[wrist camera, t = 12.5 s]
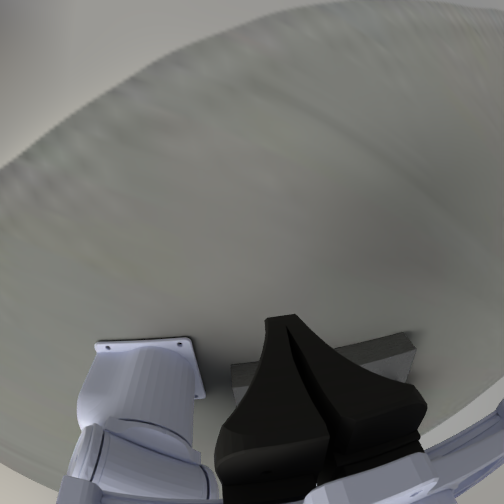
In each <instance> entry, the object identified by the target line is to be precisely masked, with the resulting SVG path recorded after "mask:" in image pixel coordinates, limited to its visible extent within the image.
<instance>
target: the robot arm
mask: <svg viewBox="0 0 504 504" xmlns="http://www.w3.org/2000/svg"><path fill="white" fill-rule="evenodd" d="M265 331H266V333H265V341H264V346H263V351H262V354H261V358H260V361H259V364H258V367H257V370H256V372H255V375H254V377H253V379H252V381H251V383H250V386H249V388H248V389H247V391H246V393H245V395H244V397H243V398H242V400H241V401H240V403H239V404H238V406H237V407H236V409H235V410H234V412H233V413H232V414H231V416H230V417H229V418H228V419H227V420H226V422H225V423H224V424H223V425H222V427H221V430H220V433H219V436H218V439H217V443H216V447H215V453H214V464H215V472H216V474H217V476H218V478H219V480H220V482H221V484H222V492H223V499H219V489H218V484H217V481H216V478H215V476H214V474H213V472H212V470H211V469H210V468H209V467H207V466H205V465H202V464H201V452H199V451H196V450H194V449H192V440H193V414H194V399H203V398H205V397H206V392H205V389H204V385H203V382H202V379H201V375H200V371H199V368H198V364H197V361H196V357H195V353H194V349H193V346H192V342H191V340H190V339H189V338H187V337H183V338H170V339H155V340H136V341H110V342H96V343H95V346H94V347H95V350H96V352H97V354H96V356H95V359H94V361H93V363H92V365H91V367H90V370H89V372H88V374H87V376H86V379H85V381H84V383H83V386H82V388H81V390H80V393H79V396H78V401H77V418H78V423H79V426H80V428H81V431H82V433H81V435H80V437H79V439H78V441H77V444H76V446H75V449H74V451H73V454H72V457H71V460H70V463H69V467H68V471H67V475H63V478H62V482H61V486H60V490H59V494H58V498H57V502H56V504H457V502H456V500H455V498H456V497H458V496H460V495H461V494H463V493H464V492H465V491H467V490H469V489H470V488H471V487H473V486H474V485H476V484H477V483H479V482H480V481H481V480H483V479H484V478H485V477H487V476H488V475H489V474H491V473H492V472H493V471H495V470H496V469H497V468H498V467H500V466H501V465H502V464H503V463H504V399H503V400H502V401H501V402H500V403H499V405H498V407H497V408H496V410H495V411H494V412H492V413H491V414H489V415H488V416H486V417H485V418H483V419H481V420H480V421H478V422H477V423H475V424H473V425H472V426H470V427H468V428H466V429H465V430H463V431H461V432H459V433H458V434H456V435H454V436H452V437H450V438H448V439H446V440H444V441H443V442H441V443H439V444H437V445H434V446H432V447H430V448H428V449H426V450H423V448H422V446H421V444H420V442H419V441H418V440H419V439H420V434H419V432H418V430H417V429H418V427H419V425H420V424H421V422H422V420H423V418H424V416H425V414H426V411H427V403H426V402H425V400H424V399H423V397H422V396H421V394H420V393H419V391H418V390H417V389H416V388H415V386H414V385H411V384H407V383H403V382H399V381H396V380H392V379H389V378H386V377H384V376H381V375H378V374H376V373H374V372H371V371H369V370H367V369H365V368H363V367H361V366H359V365H357V364H355V363H353V362H352V361H350V360H348V359H347V358H345V357H344V356H342V355H341V354H339V353H338V352H336V351H335V350H334V349H333V348H331V347H330V346H329V345H327V344H326V343H325V342H324V341H323V340H322V339H320V338H319V337H318V336H317V335H316V334H315V333H314V332H313V331H312V330H311V329H310V328H309V327H308V326H307V325H306V324H305V323H304V322H303V321H302V320H301V319H300V318H299V317H298V316H297V315H296V314H291V315H284V316H277V317H270V318H267V319H266V320H265ZM179 342H180V343H182V344H179ZM108 346H109V347H110V348H109V347H108ZM316 483H317V486H316Z"/></svg>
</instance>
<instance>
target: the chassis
mask: <svg viewBox="0 0 504 504" xmlns="http://www.w3.org/2000/svg"><path fill="white" fill-rule="evenodd" d="M334 350H335V351H336V352H338V353H339V354H341V355H342V356H344V357H345V358H347V359H348V360H350V361H352V362H353V363H355V364H357V365H359V366H361V367H363V368H365V369H367V370H369V371H371V372H374V373H376V374H378V375H381V376H384V377H386V378H389V379H392V380H396V381H399V382H403V383H405V382H406V379H407V377H408V374H409V371H410V368H411V365H412V362H413V359H414V356H415V352H416V347H415V346H414V345H413V344H412V343H411V341H410V340H409V339H408V338H407V337H406V335H405V334H404V333H403V332H401V333H398V334H394V335H390V336H387V337H383V338H379V339H375V340H371V341H367V342H362V343H358V344H354V345H349V346H345V347H340V348H335V349H334ZM258 364H259V362H251V363H243V364H234V365H231V376H232V388H233V393H234V398H235V403H236V407H237V406H238V404H239V403H240V401H241V400H242V398H243V397H244V395H245V393H246V391H247V389H248V388H249V386H250V383H251V381H252V379H253V377H254V375H255V372H256V370H257V367H258Z"/></svg>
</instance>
